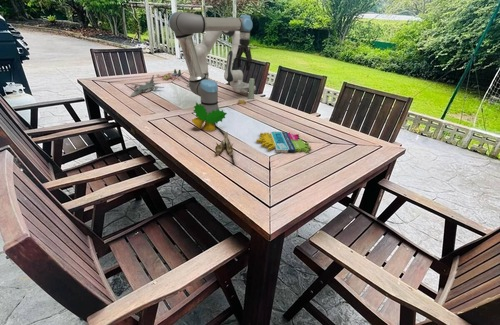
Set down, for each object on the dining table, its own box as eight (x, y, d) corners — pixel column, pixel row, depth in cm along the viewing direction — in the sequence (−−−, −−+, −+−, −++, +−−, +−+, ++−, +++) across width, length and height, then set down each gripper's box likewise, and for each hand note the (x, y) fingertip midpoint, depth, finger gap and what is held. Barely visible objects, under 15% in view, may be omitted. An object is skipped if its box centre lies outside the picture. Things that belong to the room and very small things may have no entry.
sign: (313, 150, 142) (258, 149, 139) (312, 153, 143) (258, 152, 140) (301, 132, 164) (254, 130, 161) (301, 134, 165) (254, 133, 162)
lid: (237, 102, 217) (237, 100, 216) (242, 101, 221) (242, 99, 219) (241, 104, 214) (241, 102, 213) (246, 103, 217) (246, 101, 216)
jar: (254, 98, 233) (255, 79, 224) (251, 99, 229) (252, 79, 221) (250, 97, 235) (251, 78, 227) (247, 98, 232) (248, 78, 224)
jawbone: (234, 135, 144) (233, 125, 135) (233, 160, 138) (232, 151, 129) (217, 135, 144) (216, 125, 135) (216, 160, 138) (214, 150, 129)
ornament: (218, 133, 171) (224, 110, 169) (221, 134, 163) (227, 111, 161) (186, 125, 162) (192, 101, 160) (189, 126, 155) (195, 101, 153)
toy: (189, 70, 290) (176, 74, 264) (189, 77, 293) (177, 81, 267) (166, 67, 295) (151, 71, 269) (167, 74, 298) (152, 78, 272)
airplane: (124, 86, 238) (122, 75, 233) (160, 84, 251) (158, 74, 246) (129, 99, 209) (126, 86, 204) (168, 96, 223) (167, 84, 217)
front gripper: (258, 40, 186) (255, 71, 196) (240, 37, 204) (239, 65, 214) (249, 40, 182) (247, 72, 193) (232, 37, 200) (231, 66, 211)
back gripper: (232, 84, 233) (240, 87, 223) (250, 82, 243) (259, 86, 234) (231, 91, 236) (240, 95, 226) (250, 89, 246) (259, 93, 237)
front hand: (243, 68), depth 204 cm, fingers open, 13 cm apart
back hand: (250, 90), depth 230 cm, fingers open, 8 cm apart
